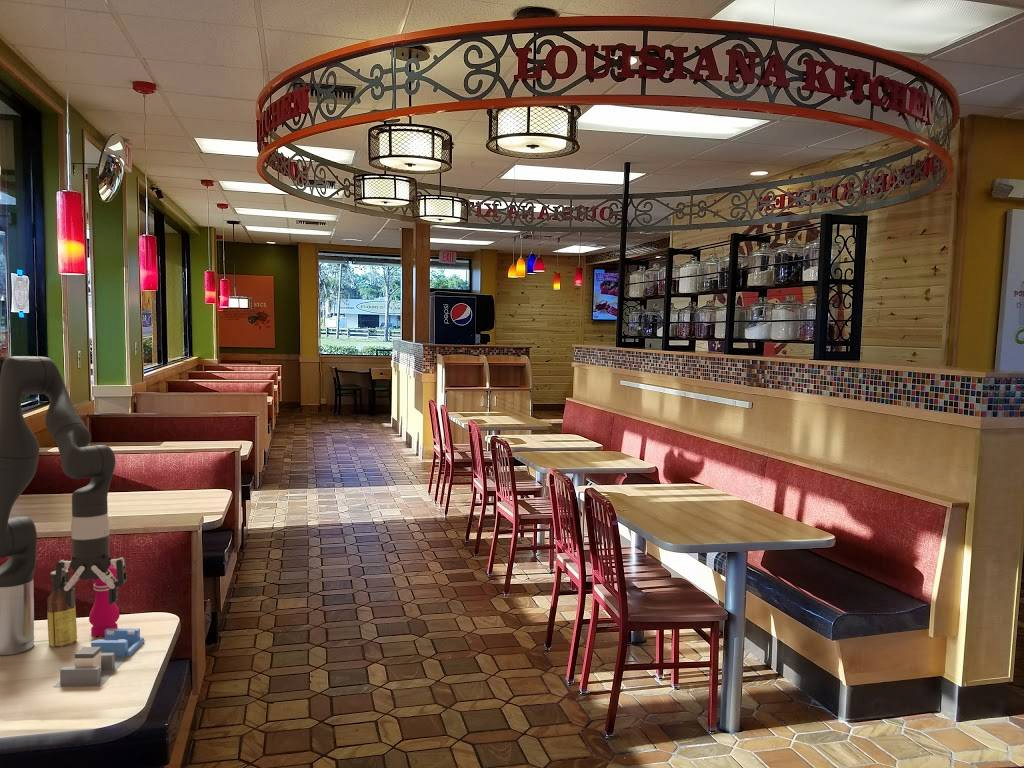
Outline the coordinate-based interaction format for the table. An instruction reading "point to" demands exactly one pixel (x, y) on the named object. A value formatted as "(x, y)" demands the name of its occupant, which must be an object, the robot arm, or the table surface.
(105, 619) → the pepper mill
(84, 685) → the grey fixture board
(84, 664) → the grey block
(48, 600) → the sauce bottle
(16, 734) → the table surface
